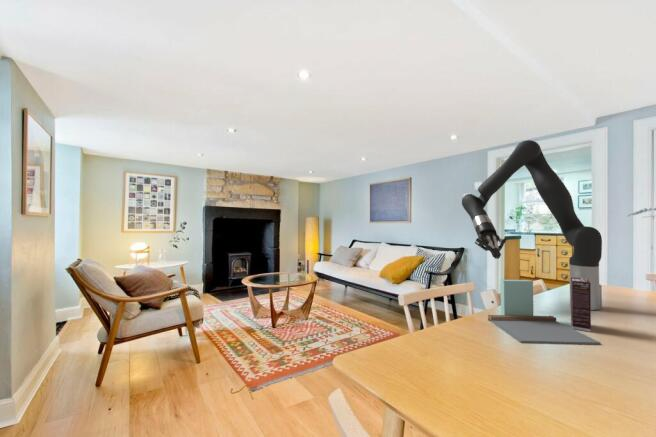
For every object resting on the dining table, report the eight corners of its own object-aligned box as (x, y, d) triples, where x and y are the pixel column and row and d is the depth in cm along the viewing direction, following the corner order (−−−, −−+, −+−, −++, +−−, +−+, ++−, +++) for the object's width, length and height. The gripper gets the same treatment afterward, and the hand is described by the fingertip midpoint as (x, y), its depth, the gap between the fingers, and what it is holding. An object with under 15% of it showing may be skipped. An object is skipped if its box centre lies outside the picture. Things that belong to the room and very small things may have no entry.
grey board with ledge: (488, 319, 105) (488, 314, 105) (552, 321, 104) (552, 315, 104) (520, 342, 85) (520, 336, 85) (600, 344, 84) (600, 338, 84)
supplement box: (591, 332, 93) (591, 282, 93) (572, 329, 96) (571, 280, 96) (588, 324, 100) (588, 278, 100) (570, 321, 103) (569, 276, 103)
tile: (500, 317, 108) (500, 279, 108) (529, 318, 107) (528, 279, 107) (504, 319, 105) (503, 280, 105) (533, 320, 105) (532, 281, 105)
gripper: (471, 221, 130) (484, 251, 117) (502, 221, 129) (518, 251, 116) (466, 232, 135) (478, 262, 123) (496, 232, 134) (511, 263, 122)
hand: (497, 257), depth 120 cm, fingers closed
